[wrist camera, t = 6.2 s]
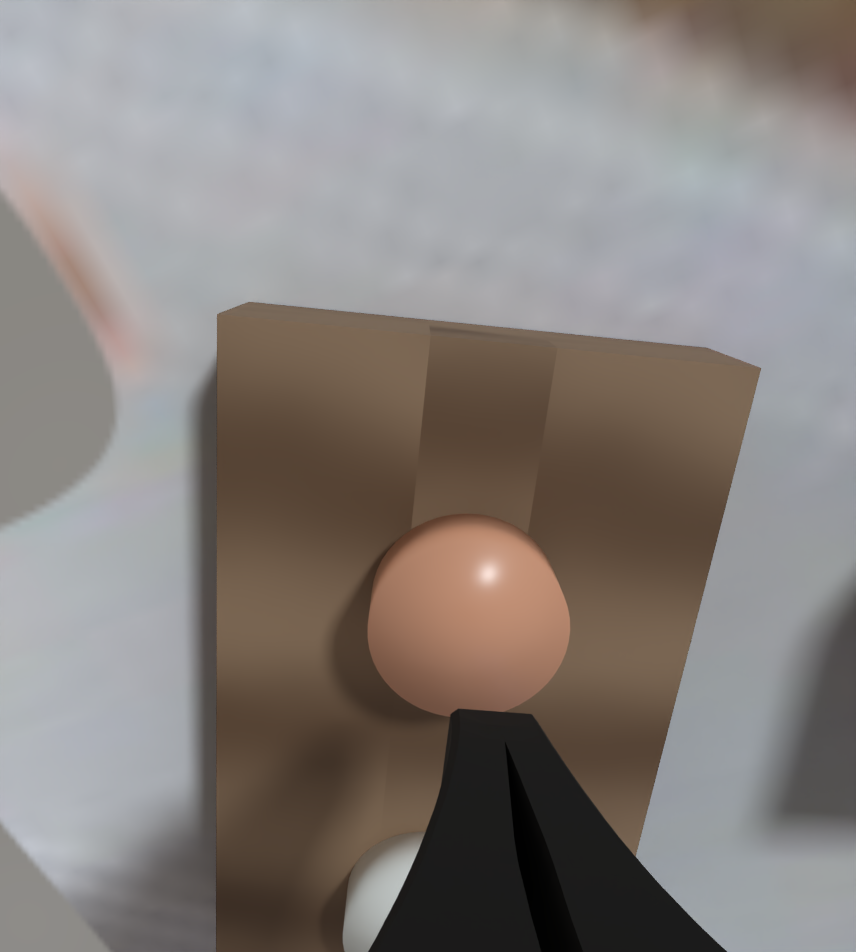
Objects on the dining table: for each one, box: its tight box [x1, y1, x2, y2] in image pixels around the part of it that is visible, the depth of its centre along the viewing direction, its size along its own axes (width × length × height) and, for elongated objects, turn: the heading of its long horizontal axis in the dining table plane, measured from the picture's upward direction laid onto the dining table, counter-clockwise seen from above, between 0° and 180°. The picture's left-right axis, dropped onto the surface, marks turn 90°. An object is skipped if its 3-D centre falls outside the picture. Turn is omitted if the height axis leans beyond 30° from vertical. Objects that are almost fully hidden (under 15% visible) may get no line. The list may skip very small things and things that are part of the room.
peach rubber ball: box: [368, 514, 570, 717], centre depth 17 cm, size 4×4×4 cm
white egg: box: [343, 832, 425, 952], centre depth 21 cm, size 4×4×4 cm
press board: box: [216, 302, 761, 952], centre depth 20 cm, size 22×12×3 cm, turn 174°
